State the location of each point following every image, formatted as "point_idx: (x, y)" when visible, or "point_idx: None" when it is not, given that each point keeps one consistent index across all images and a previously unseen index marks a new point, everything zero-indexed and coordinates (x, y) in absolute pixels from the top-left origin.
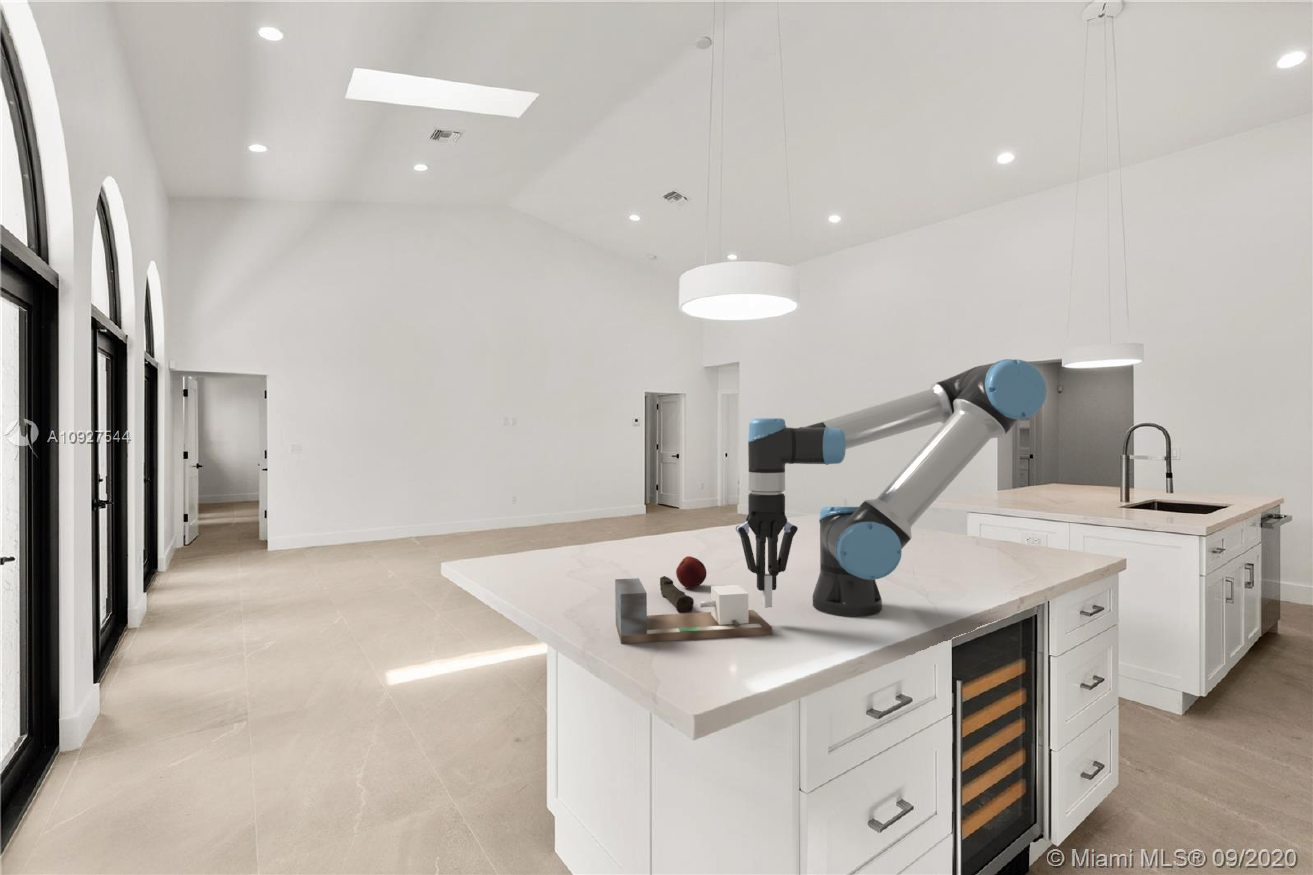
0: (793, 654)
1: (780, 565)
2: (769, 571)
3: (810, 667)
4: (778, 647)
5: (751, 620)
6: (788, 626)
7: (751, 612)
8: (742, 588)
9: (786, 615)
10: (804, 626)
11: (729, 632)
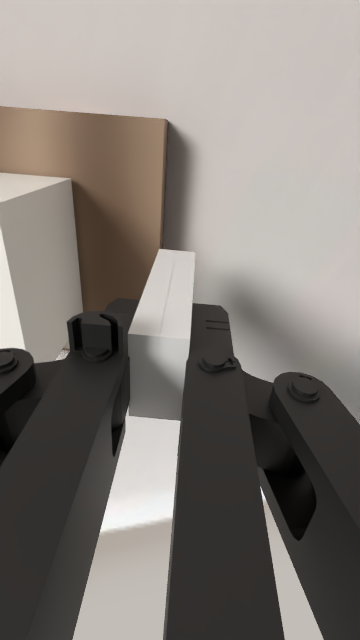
0: (156, 460)
1: (265, 487)
2: (183, 392)
3: (161, 507)
4: (139, 423)
5: (106, 279)
6: (252, 287)
7: (139, 166)
8: (14, 297)
9: (333, 141)
10: (308, 302)
11: None
